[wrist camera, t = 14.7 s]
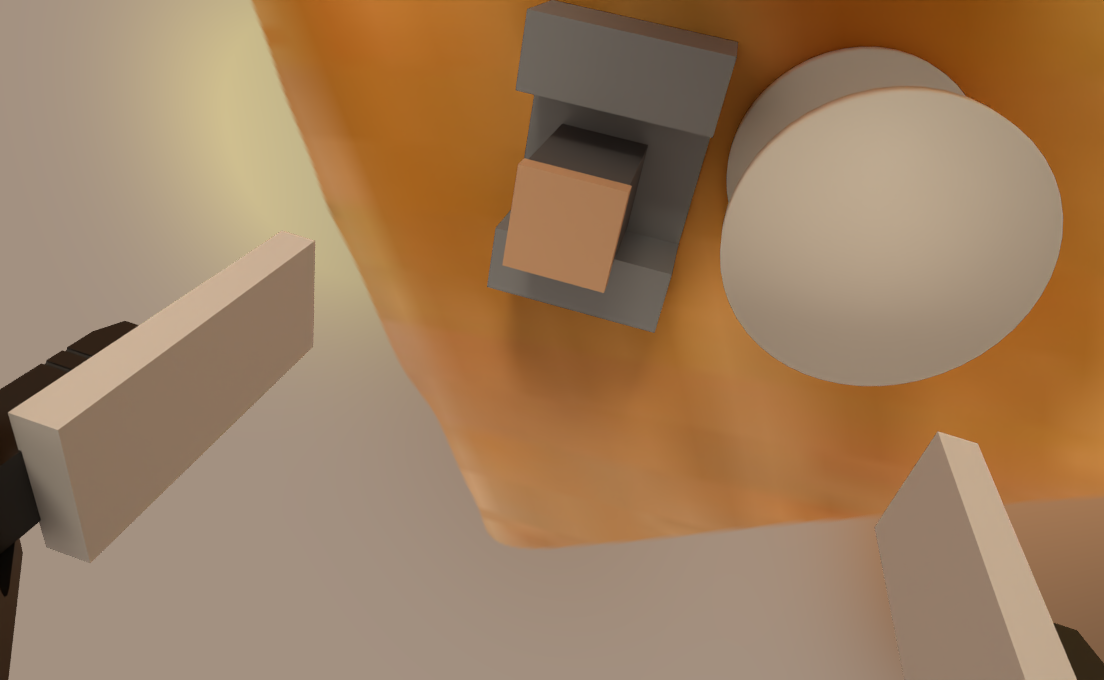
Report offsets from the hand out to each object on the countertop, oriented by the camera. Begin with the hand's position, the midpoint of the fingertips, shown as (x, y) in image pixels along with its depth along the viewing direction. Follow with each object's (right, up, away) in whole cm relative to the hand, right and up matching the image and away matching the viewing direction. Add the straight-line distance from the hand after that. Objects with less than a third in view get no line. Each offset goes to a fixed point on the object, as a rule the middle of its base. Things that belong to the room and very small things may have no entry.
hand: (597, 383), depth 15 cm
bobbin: (+12, +8, +16) cm, 21 cm away
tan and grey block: (+1, +8, +18) cm, 20 cm away
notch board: (+2, +9, +18) cm, 20 cm away
